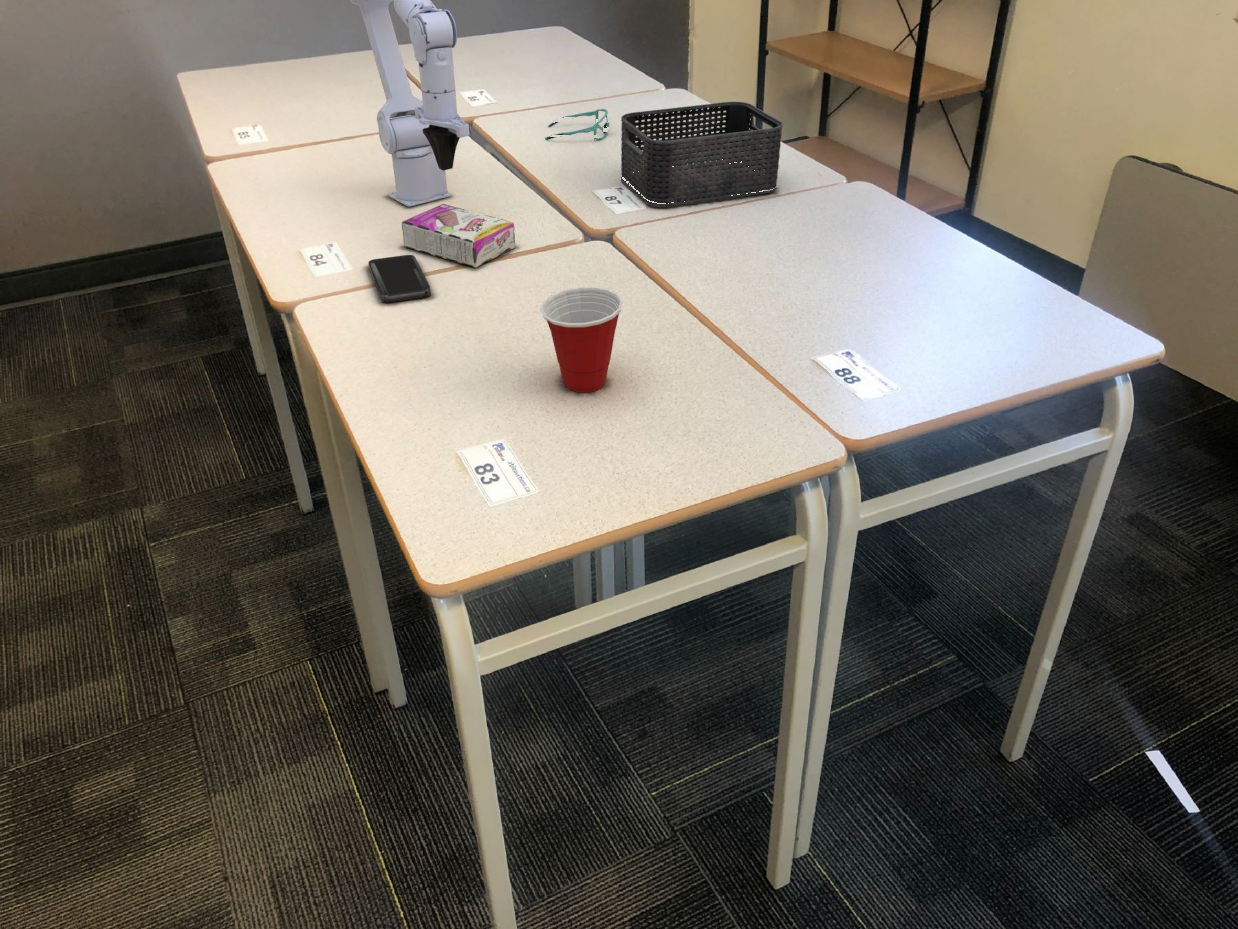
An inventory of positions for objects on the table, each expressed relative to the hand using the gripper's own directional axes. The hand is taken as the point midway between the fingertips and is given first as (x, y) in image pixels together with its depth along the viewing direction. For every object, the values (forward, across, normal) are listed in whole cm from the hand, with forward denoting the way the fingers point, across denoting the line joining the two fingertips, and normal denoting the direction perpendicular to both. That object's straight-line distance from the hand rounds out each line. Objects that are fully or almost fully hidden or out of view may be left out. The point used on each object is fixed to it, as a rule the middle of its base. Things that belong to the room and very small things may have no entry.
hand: (445, 168), depth 170 cm
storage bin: (+10, +14, +50) cm, 53 cm away
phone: (+10, +16, -20) cm, 28 cm away
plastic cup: (+10, +60, -17) cm, 63 cm away
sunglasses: (+10, -29, +53) cm, 61 cm away
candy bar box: (+8, +2, -7) cm, 11 cm away
